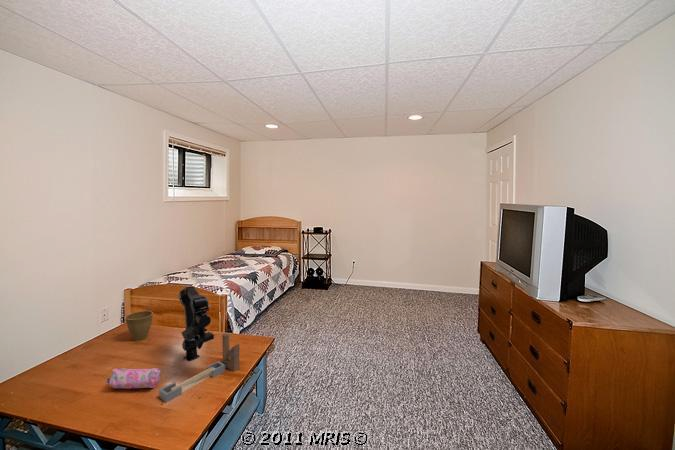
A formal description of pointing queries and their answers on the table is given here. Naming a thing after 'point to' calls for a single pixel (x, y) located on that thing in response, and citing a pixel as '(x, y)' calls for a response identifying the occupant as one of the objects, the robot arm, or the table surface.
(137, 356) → the table surface
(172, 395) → the endcap
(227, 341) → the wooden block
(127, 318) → the plant pot
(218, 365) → the endcap
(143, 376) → the pencil case
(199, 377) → the slat
